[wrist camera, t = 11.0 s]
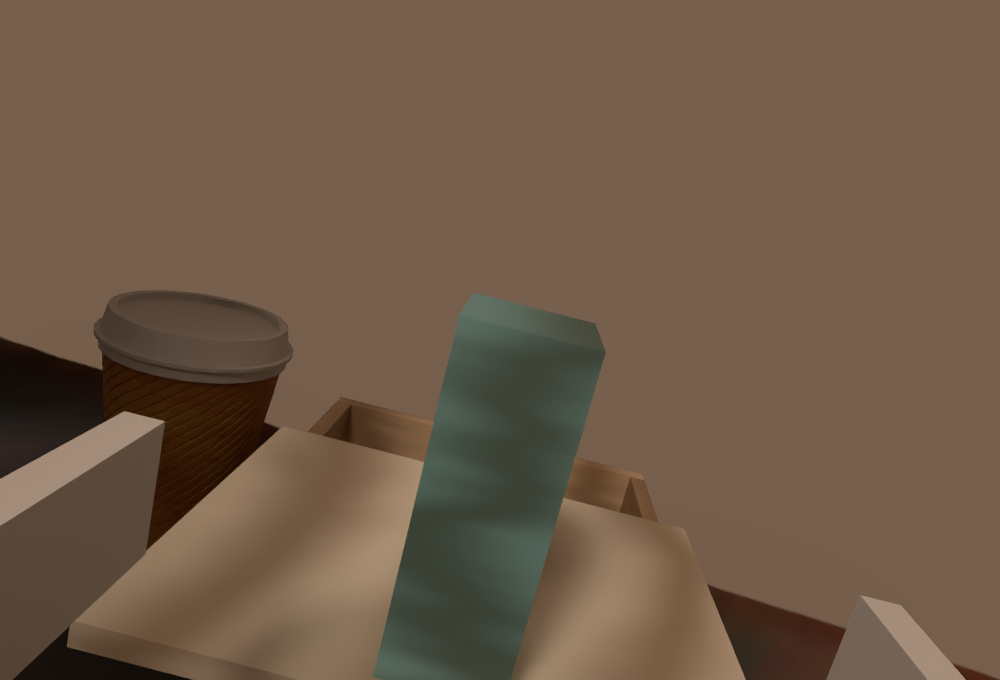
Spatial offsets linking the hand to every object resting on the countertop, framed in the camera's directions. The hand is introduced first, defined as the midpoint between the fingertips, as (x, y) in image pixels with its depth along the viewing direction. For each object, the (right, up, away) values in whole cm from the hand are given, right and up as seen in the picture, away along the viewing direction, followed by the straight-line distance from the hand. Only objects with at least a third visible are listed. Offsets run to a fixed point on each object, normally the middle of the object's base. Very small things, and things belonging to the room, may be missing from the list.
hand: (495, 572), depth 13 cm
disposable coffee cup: (-18, -6, +26) cm, 32 cm away
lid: (-1, -4, +12) cm, 13 cm away
